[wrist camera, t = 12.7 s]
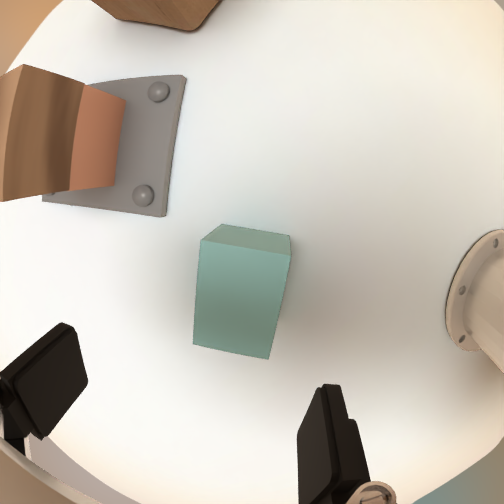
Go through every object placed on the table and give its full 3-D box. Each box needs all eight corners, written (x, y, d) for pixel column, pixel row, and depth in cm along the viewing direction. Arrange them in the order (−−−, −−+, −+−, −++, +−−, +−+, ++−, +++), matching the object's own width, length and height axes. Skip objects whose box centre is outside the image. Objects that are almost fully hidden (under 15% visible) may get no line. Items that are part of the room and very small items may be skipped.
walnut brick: (84, 83, 12) (23, 64, 7) (69, 190, 14) (2, 201, 9) (39, 95, 12) (-16, 86, 7) (27, 188, 14) (-30, 198, 9)
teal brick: (289, 235, 20) (291, 255, 15) (272, 319, 22) (268, 359, 17) (222, 223, 20) (200, 240, 15) (212, 307, 22) (192, 344, 17)
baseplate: (186, 78, 17) (150, 46, 11) (165, 215, 20) (121, 231, 14) (62, 93, 18) (16, 83, 12) (48, 200, 21) (1, 210, 15)
